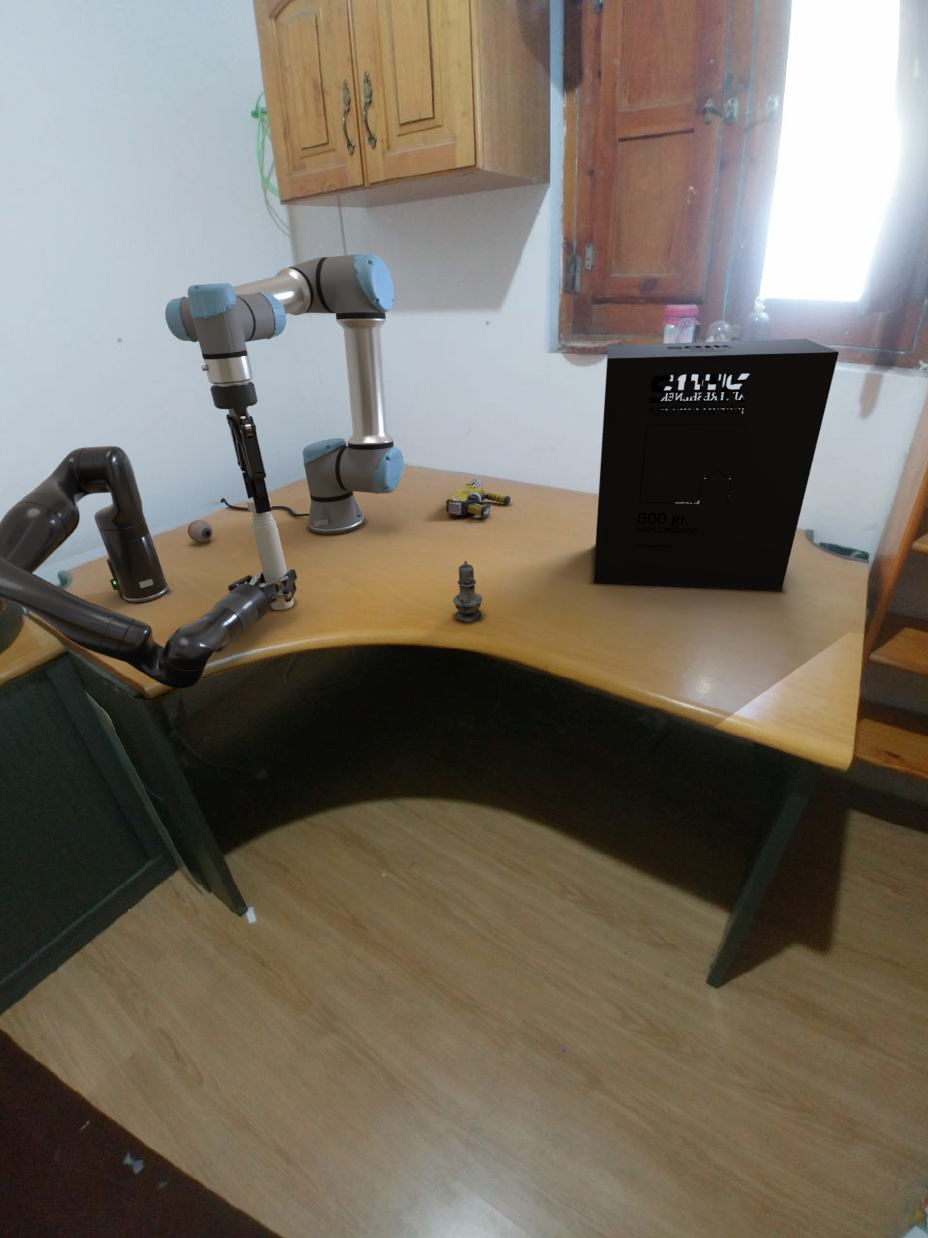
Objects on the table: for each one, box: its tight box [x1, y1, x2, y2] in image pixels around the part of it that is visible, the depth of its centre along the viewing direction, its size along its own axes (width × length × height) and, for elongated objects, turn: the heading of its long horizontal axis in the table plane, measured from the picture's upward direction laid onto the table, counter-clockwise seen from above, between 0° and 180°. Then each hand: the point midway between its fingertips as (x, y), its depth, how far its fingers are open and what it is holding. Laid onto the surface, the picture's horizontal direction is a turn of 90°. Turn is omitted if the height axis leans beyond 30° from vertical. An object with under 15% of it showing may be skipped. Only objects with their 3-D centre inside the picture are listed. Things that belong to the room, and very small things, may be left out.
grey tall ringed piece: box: [452, 560, 484, 623], centre depth 118 cm, size 6×6×12 cm
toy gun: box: [445, 478, 511, 520], centre depth 176 cm, size 5×24×15 cm
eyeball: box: [187, 519, 213, 544], centre depth 162 cm, size 6×6×6 cm
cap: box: [246, 495, 273, 513], centre depth 118 cm, size 4×4×2 cm
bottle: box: [251, 511, 295, 611], centre depth 124 cm, size 5×5×23 cm
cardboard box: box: [593, 338, 840, 592], centre depth 124 cm, size 38×20×45 cm, turn 78°
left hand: (282, 572), depth 129 cm, fingers closed on bottle, 4 cm apart
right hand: (260, 507), depth 119 cm, fingers open, 5 cm apart
